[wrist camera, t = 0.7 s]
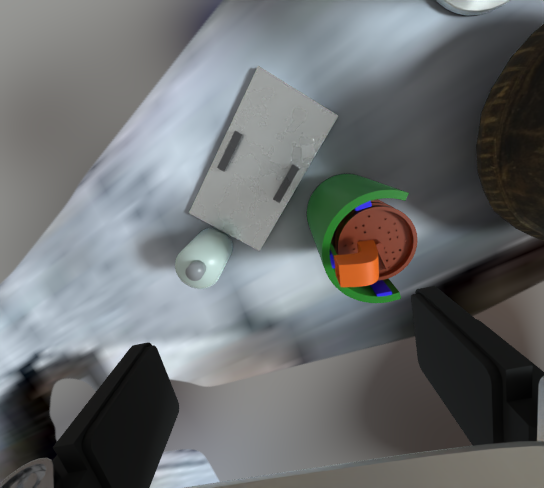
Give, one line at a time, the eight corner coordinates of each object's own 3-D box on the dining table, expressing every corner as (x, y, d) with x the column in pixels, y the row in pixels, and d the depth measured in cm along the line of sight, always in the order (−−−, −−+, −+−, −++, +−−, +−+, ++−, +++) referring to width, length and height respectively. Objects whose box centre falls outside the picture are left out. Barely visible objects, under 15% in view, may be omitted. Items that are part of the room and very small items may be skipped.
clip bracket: (258, 67, 35) (257, 62, 32) (337, 116, 36) (340, 114, 34) (190, 211, 41) (185, 214, 38) (260, 248, 42) (258, 254, 40)
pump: (204, 220, 41) (181, 241, 32) (239, 239, 42) (226, 264, 33) (189, 252, 43) (162, 280, 34) (222, 269, 43) (205, 302, 34)
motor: (380, 237, 40) (463, 317, 22) (318, 255, 42) (344, 346, 23) (364, 166, 38) (443, 185, 19) (297, 187, 39) (308, 226, 20)
